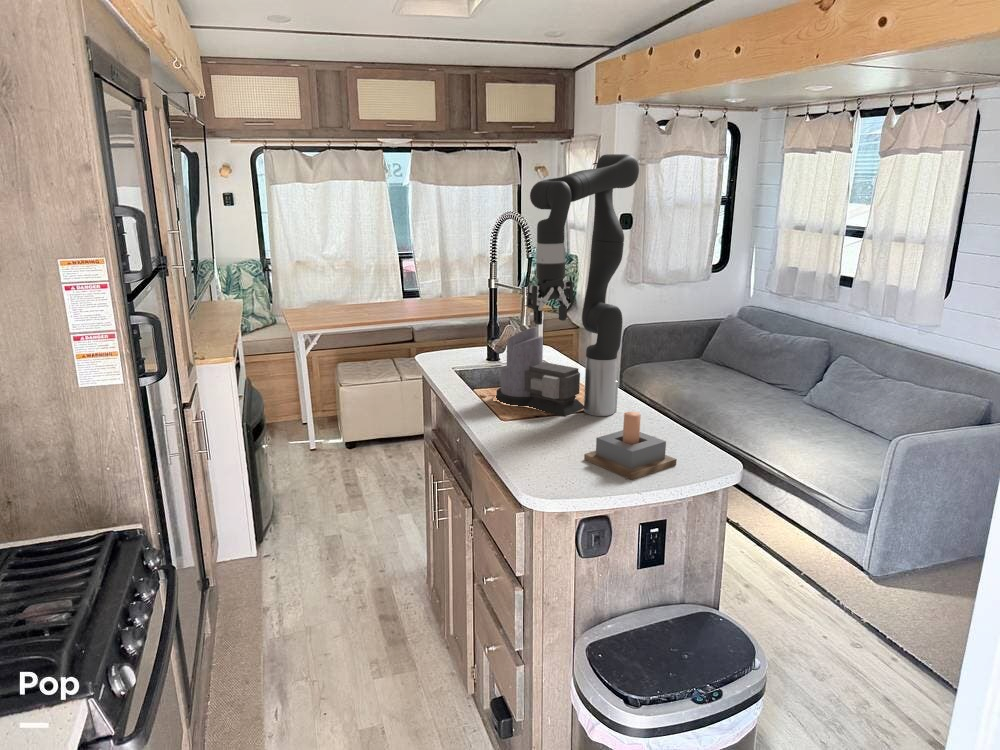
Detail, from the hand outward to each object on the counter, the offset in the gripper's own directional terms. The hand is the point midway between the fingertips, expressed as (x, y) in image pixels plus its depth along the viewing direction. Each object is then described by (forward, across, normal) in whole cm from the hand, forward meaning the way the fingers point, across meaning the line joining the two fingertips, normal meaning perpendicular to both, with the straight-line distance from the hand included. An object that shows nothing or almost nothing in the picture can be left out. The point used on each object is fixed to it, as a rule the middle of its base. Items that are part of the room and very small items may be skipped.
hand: (550, 322), depth 190 cm
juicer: (+32, +16, +25) cm, 44 cm away
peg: (+30, +2, -27) cm, 41 cm away
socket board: (+32, +2, -27) cm, 42 cm away
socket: (+30, +2, -27) cm, 41 cm away
